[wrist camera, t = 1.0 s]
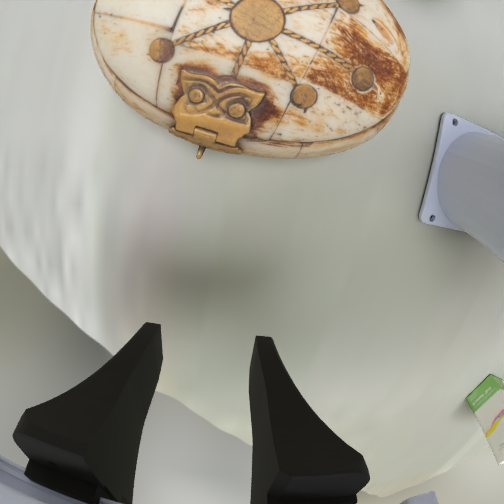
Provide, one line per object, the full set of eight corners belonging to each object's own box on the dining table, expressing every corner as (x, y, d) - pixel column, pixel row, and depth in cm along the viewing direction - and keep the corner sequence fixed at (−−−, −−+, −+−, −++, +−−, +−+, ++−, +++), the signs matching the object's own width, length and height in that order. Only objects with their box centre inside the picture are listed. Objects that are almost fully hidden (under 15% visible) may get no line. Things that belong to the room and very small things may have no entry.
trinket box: (111, -3, 13) (47, -41, 6) (341, -50, 12) (383, -108, 5) (157, 181, 19) (107, 227, 12) (388, 134, 18) (459, 157, 11)
